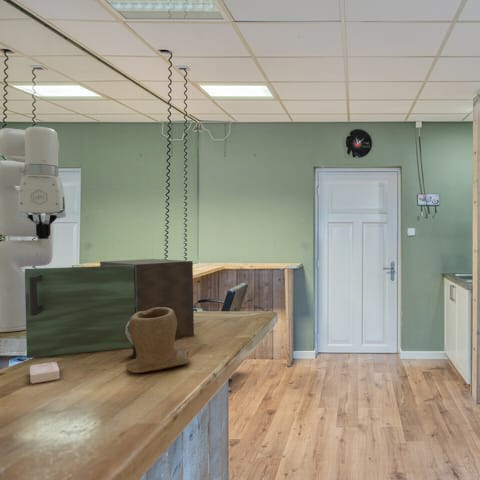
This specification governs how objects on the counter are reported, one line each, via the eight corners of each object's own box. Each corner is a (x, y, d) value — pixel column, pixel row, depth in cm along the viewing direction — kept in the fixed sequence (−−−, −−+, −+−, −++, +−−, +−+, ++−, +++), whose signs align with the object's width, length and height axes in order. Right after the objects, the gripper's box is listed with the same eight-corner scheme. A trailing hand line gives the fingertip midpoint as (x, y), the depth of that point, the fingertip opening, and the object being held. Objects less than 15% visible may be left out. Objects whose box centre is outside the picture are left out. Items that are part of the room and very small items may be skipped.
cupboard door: (134, 352, 128) (132, 266, 128) (19, 364, 118) (17, 270, 117) (135, 346, 135) (134, 265, 135) (27, 357, 125) (25, 268, 124)
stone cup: (129, 381, 104) (128, 315, 103) (123, 368, 114) (122, 308, 113) (198, 369, 112) (197, 308, 112) (187, 358, 122) (186, 302, 122)
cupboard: (138, 346, 136) (136, 264, 135) (101, 335, 152) (99, 261, 152) (193, 335, 149) (192, 261, 149) (154, 326, 166) (153, 258, 166)
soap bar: (30, 384, 102) (30, 373, 102) (29, 375, 109) (29, 364, 109) (59, 380, 105) (59, 369, 105) (56, 370, 112) (56, 360, 112)
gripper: (4, 170, 122) (5, 239, 122) (69, 172, 126) (70, 238, 127) (15, 173, 129) (17, 238, 129) (76, 175, 133) (77, 238, 134)
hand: (43, 238), depth 128 cm, fingers closed
